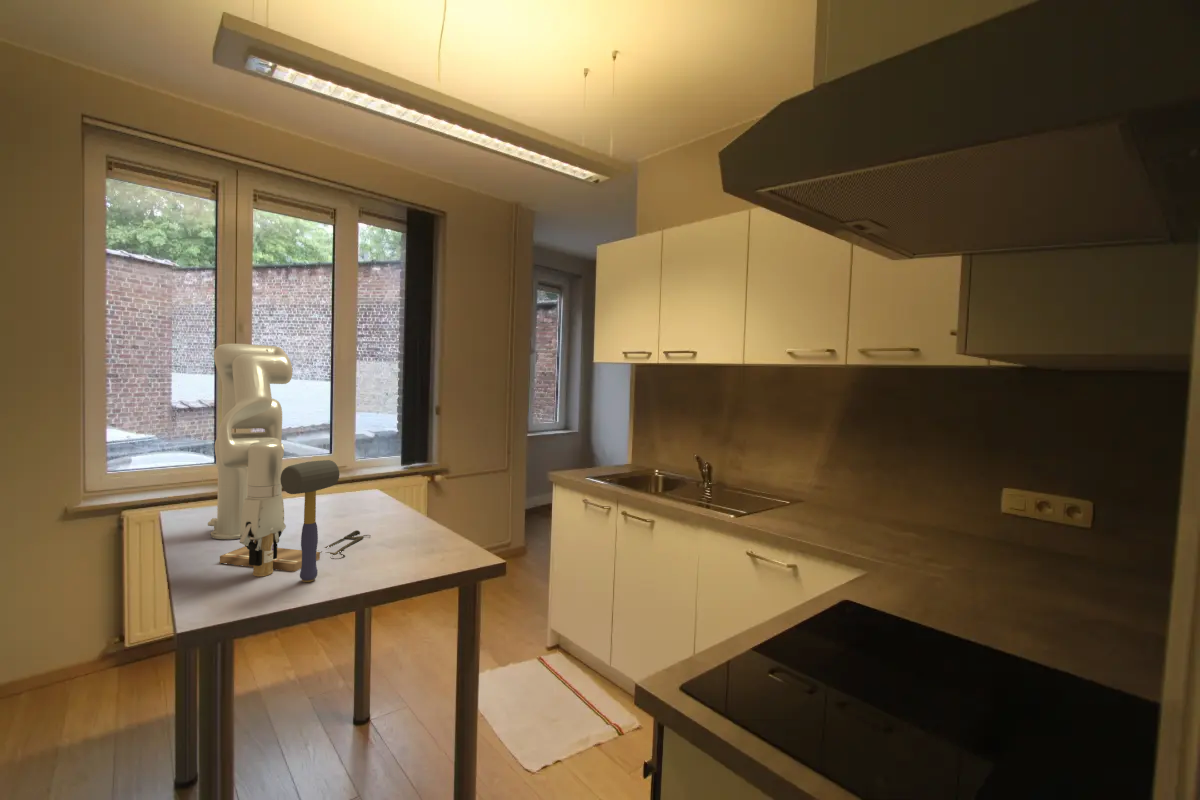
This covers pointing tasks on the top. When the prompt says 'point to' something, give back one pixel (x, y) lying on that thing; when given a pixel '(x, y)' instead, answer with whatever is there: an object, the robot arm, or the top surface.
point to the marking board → (284, 560)
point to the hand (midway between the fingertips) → (263, 561)
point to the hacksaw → (347, 544)
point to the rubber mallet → (309, 504)
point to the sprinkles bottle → (265, 557)
